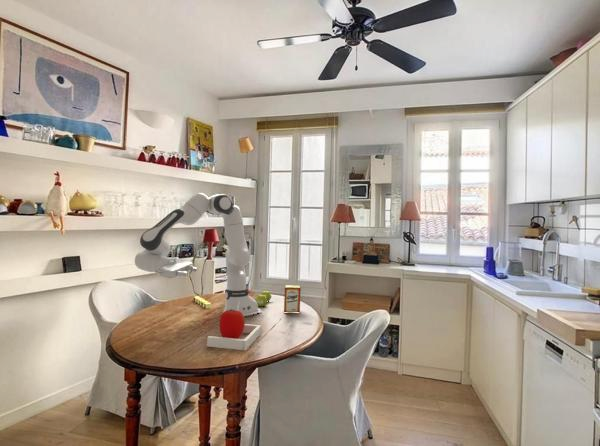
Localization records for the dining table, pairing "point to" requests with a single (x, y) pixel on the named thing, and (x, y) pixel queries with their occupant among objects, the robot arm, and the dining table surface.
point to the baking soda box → (292, 298)
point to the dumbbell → (263, 298)
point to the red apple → (231, 324)
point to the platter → (202, 302)
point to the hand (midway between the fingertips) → (191, 272)
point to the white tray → (236, 343)
